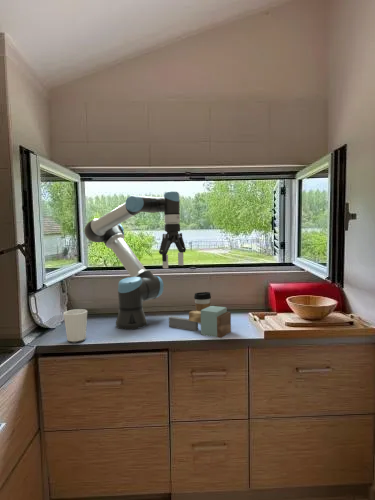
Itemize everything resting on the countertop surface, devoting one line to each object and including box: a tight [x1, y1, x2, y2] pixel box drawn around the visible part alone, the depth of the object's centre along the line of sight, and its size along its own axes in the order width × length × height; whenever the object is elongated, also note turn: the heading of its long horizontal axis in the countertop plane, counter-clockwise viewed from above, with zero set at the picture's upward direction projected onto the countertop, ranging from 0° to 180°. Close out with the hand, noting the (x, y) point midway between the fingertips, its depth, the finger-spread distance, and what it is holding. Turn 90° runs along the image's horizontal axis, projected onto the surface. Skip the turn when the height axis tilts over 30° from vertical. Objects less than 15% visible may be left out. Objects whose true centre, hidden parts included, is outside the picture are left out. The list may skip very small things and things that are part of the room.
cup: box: [63, 308, 88, 344], centre depth 149 cm, size 10×10×13 cm
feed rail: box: [168, 315, 199, 332], centre depth 164 cm, size 15×2×4 cm, turn 58°
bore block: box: [200, 305, 228, 338], centre depth 155 cm, size 8×10×11 cm
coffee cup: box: [193, 291, 212, 325], centre depth 173 cm, size 8×8×15 cm
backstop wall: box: [216, 311, 232, 339], centre depth 152 cm, size 2×10×9 cm, turn 148°
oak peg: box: [188, 310, 201, 324], centre depth 158 cm, size 14×4×4 cm, turn 59°
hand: (173, 266), depth 169 cm, fingers open, 13 cm apart
